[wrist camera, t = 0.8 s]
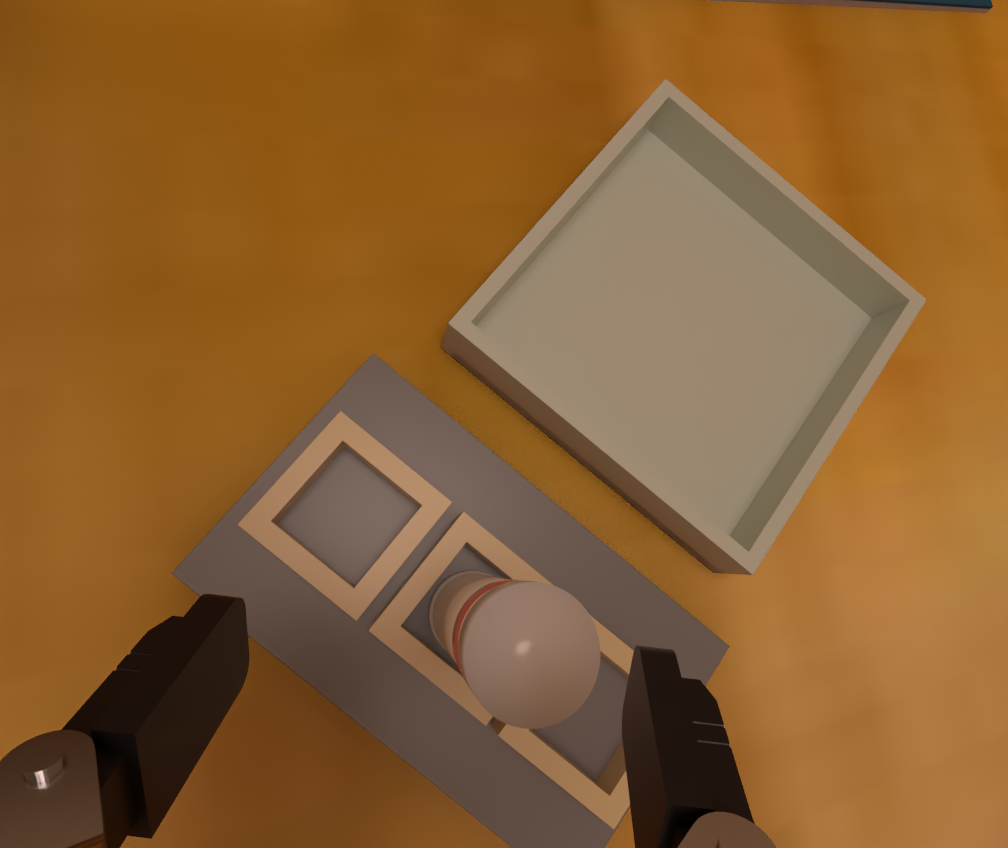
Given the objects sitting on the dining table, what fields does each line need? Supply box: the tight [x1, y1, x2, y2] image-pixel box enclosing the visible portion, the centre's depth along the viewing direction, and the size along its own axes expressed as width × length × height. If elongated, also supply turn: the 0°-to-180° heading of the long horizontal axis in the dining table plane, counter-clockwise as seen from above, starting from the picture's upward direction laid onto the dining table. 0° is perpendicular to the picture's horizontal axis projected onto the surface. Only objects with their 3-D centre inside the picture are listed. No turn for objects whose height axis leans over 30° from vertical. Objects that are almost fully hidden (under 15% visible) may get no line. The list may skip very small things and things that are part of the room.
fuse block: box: [172, 354, 729, 848], centre depth 32 cm, size 24×14×4 cm, turn 52°
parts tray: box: [441, 79, 927, 575], centre depth 37 cm, size 20×20×4 cm
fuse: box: [428, 570, 601, 729], centre depth 26 cm, size 4×4×14 cm
